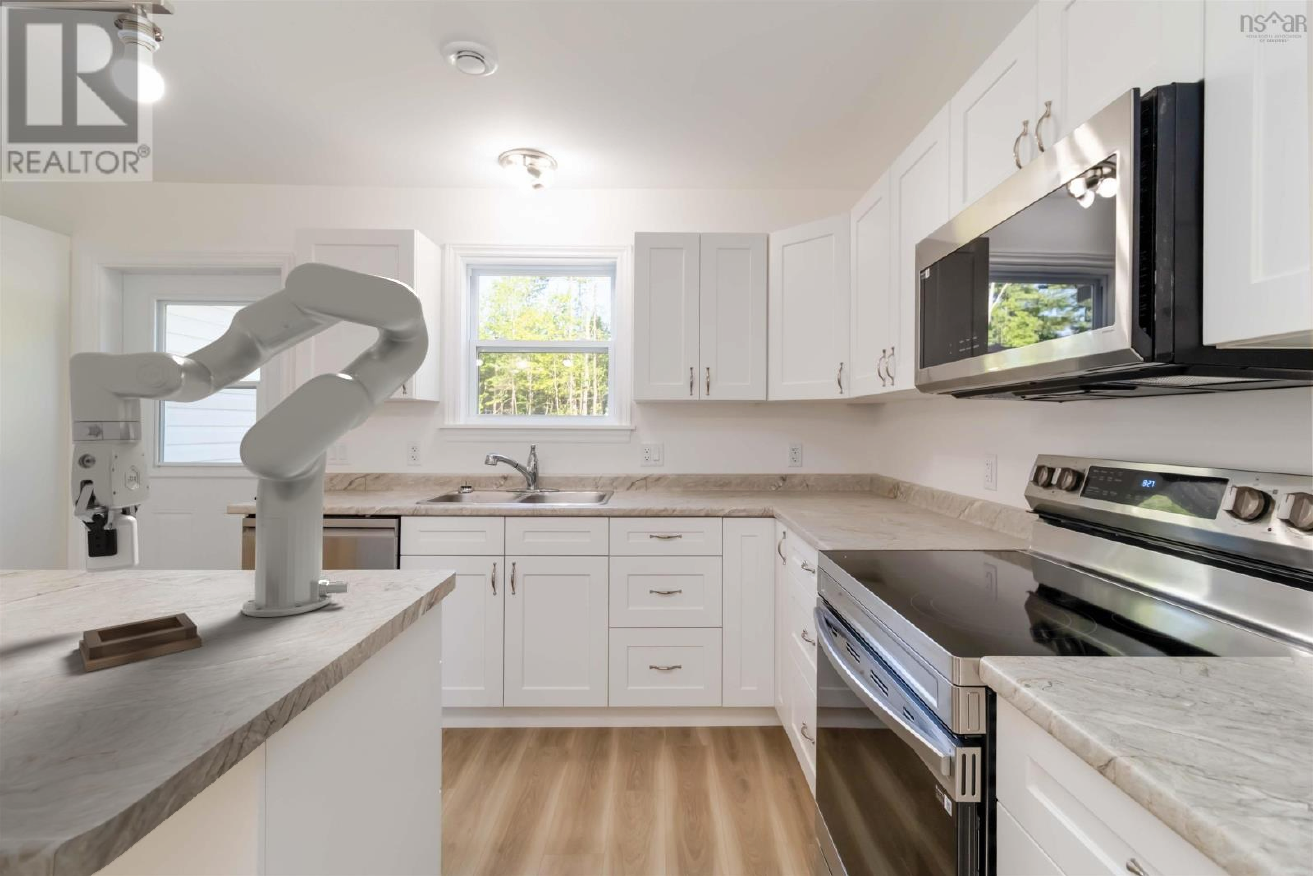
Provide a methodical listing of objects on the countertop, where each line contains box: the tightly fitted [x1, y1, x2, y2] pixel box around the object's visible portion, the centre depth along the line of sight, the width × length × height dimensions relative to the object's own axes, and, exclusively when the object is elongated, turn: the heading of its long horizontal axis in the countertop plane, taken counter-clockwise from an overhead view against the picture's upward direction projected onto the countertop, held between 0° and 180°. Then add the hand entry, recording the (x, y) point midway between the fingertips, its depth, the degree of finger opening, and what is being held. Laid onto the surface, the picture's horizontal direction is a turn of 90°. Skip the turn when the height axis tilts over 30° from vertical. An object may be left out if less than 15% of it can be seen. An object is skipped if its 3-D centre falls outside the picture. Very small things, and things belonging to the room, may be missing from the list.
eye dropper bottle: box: [84, 506, 140, 573], centre depth 83 cm, size 4×6×12 cm
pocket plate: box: [78, 612, 203, 673], centre depth 74 cm, size 11×11×2 cm
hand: (112, 551), depth 83 cm, fingers closed on eye dropper bottle, 3 cm apart
